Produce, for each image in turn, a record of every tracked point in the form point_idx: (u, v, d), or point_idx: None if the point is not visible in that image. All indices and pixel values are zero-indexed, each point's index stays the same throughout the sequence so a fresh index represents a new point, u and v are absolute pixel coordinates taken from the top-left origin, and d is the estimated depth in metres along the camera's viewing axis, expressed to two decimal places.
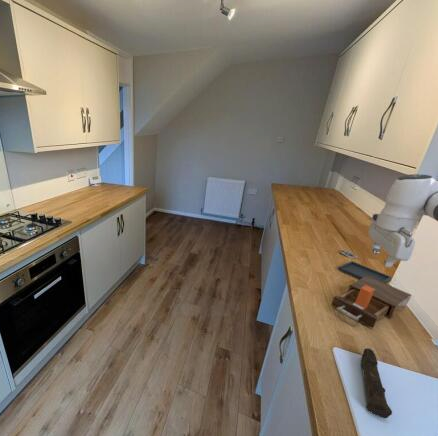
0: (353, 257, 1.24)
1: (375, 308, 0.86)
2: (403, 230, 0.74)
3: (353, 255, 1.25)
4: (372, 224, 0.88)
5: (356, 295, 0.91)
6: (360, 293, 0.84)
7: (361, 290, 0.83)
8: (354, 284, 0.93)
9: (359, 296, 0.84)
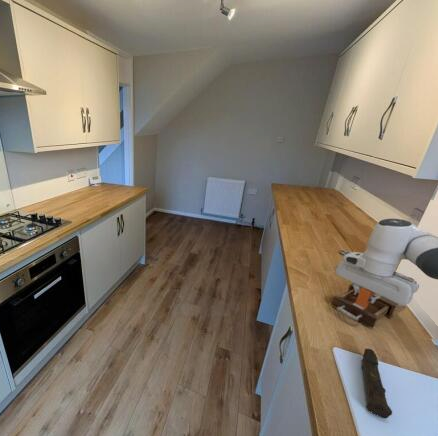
0: None
1: (375, 308, 0.86)
2: (400, 275, 0.74)
3: None
4: (342, 265, 0.87)
5: None
6: (360, 293, 0.83)
7: (362, 290, 0.83)
8: None
9: (359, 296, 0.84)
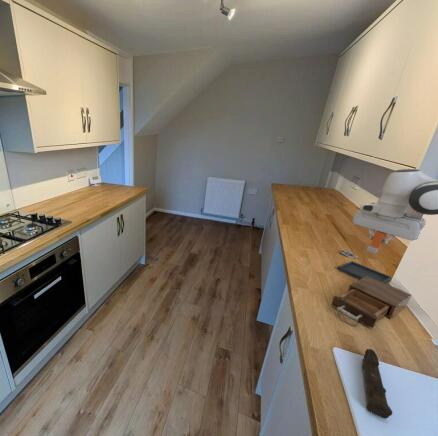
0: (353, 257, 1.24)
1: (375, 308, 0.86)
2: (410, 215, 0.89)
3: (353, 255, 1.25)
4: (359, 213, 1.01)
5: (356, 295, 0.91)
6: (375, 236, 0.98)
7: (376, 233, 0.97)
8: (354, 284, 0.93)
9: (374, 239, 0.98)
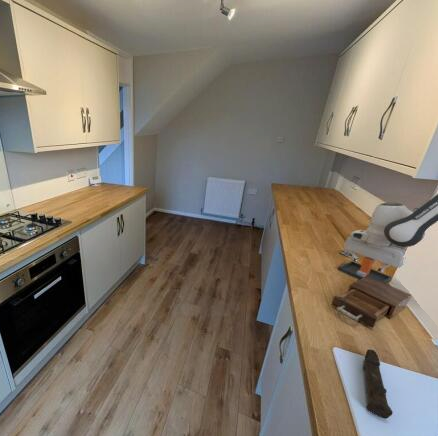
0: None
1: (375, 308, 0.86)
2: (395, 245, 0.97)
3: None
4: (350, 240, 1.10)
5: (356, 295, 0.91)
6: (364, 262, 1.07)
7: (365, 259, 1.06)
8: (354, 284, 0.93)
9: (363, 264, 1.07)
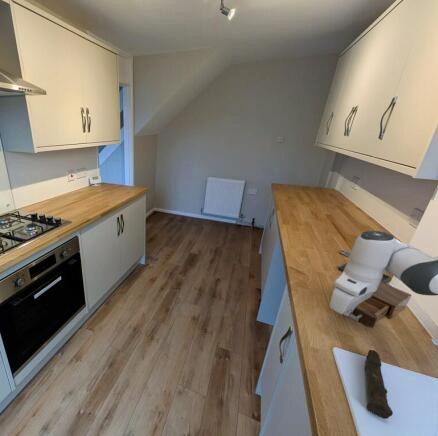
0: None
1: (375, 308, 0.86)
2: None
3: None
4: None
5: None
6: None
7: None
8: None
9: None
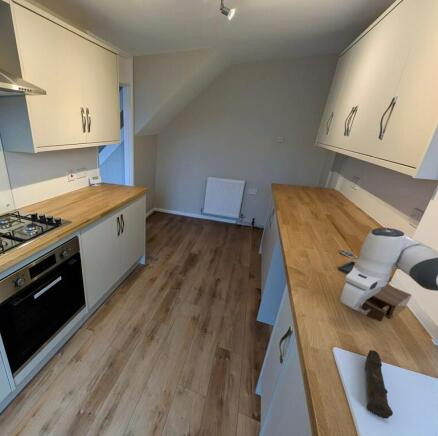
0: (353, 257, 1.24)
1: (383, 303, 0.88)
2: None
3: (353, 255, 1.25)
4: None
5: None
6: None
7: None
8: None
9: None
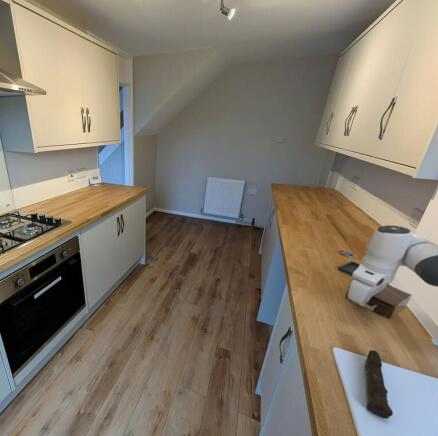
0: (353, 257, 1.24)
1: None
2: None
3: (353, 255, 1.25)
4: None
5: None
6: None
7: None
8: None
9: None
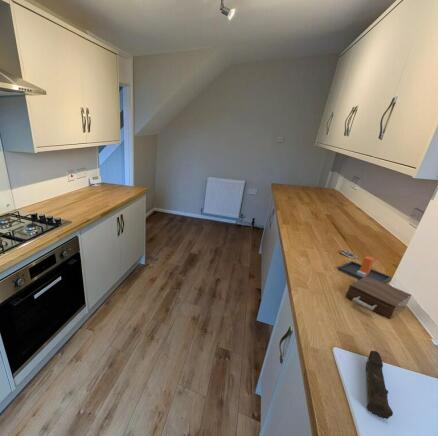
0: (353, 257, 1.24)
1: None
2: None
3: (353, 255, 1.25)
4: None
5: None
6: (364, 262, 1.07)
7: (365, 259, 1.06)
8: (354, 284, 0.93)
9: (363, 264, 1.07)
